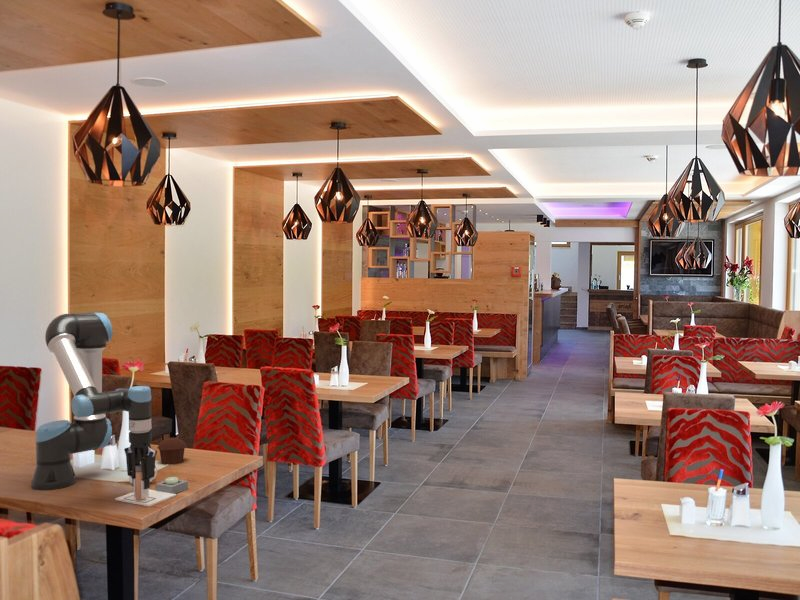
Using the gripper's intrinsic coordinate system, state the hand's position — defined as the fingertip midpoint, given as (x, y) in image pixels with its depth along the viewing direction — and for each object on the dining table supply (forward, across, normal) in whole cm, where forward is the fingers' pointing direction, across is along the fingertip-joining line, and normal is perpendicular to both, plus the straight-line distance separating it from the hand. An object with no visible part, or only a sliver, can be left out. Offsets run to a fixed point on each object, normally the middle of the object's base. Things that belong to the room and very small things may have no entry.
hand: (141, 496), depth 249 cm
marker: (+1, 0, 0) cm, 1 cm away
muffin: (+1, -28, +44) cm, 52 cm away
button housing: (+1, +1, +14) cm, 14 cm away
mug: (+2, -16, +17) cm, 23 cm away
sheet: (+1, -1, +3) cm, 3 cm away
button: (0, +1, +14) cm, 14 cm away
